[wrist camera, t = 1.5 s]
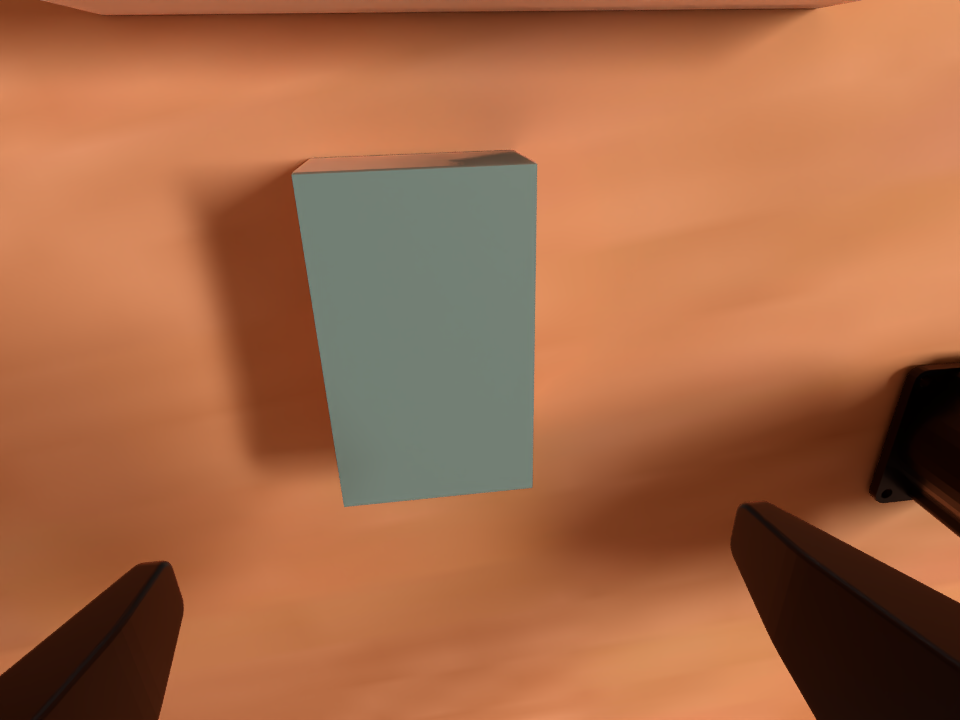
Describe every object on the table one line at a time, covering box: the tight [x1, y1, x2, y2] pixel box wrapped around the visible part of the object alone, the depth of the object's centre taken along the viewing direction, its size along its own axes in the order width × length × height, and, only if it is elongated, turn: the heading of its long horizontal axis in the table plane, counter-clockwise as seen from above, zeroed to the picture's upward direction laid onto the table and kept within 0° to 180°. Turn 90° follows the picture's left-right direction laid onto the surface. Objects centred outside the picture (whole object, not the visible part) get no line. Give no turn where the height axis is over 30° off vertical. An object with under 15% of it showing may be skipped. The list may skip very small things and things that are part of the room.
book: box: [292, 150, 537, 507], centre depth 18 cm, size 10×6×4 cm, turn 1°
